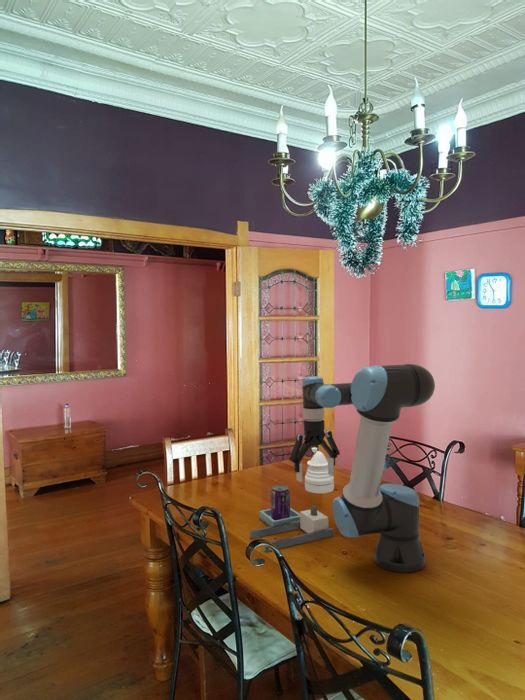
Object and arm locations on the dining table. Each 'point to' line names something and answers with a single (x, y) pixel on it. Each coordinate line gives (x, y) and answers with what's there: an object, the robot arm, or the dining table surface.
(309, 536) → the slide track
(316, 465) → the honey pot
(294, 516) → the tray
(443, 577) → the dining table surface
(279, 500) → the beverage can
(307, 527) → the slider
